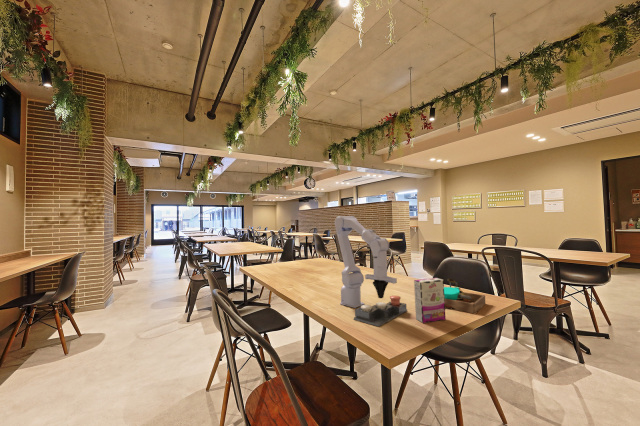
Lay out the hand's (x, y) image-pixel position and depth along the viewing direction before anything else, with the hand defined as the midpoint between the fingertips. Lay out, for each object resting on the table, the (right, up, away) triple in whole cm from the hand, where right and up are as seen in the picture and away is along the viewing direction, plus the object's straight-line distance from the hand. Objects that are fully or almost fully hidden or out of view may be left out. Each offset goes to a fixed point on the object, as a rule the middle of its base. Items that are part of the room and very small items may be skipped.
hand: (380, 297), depth 118 cm
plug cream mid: (0, -6, 0) cm, 6 cm away
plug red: (+7, -4, +3) cm, 9 cm away
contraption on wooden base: (+38, -7, +12) cm, 41 cm away
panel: (0, -8, 0) cm, 8 cm away
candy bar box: (+19, -7, -7) cm, 21 cm away
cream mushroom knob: (-7, -7, -3) cm, 10 cm away
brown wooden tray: (+39, -7, +13) cm, 41 cm away
